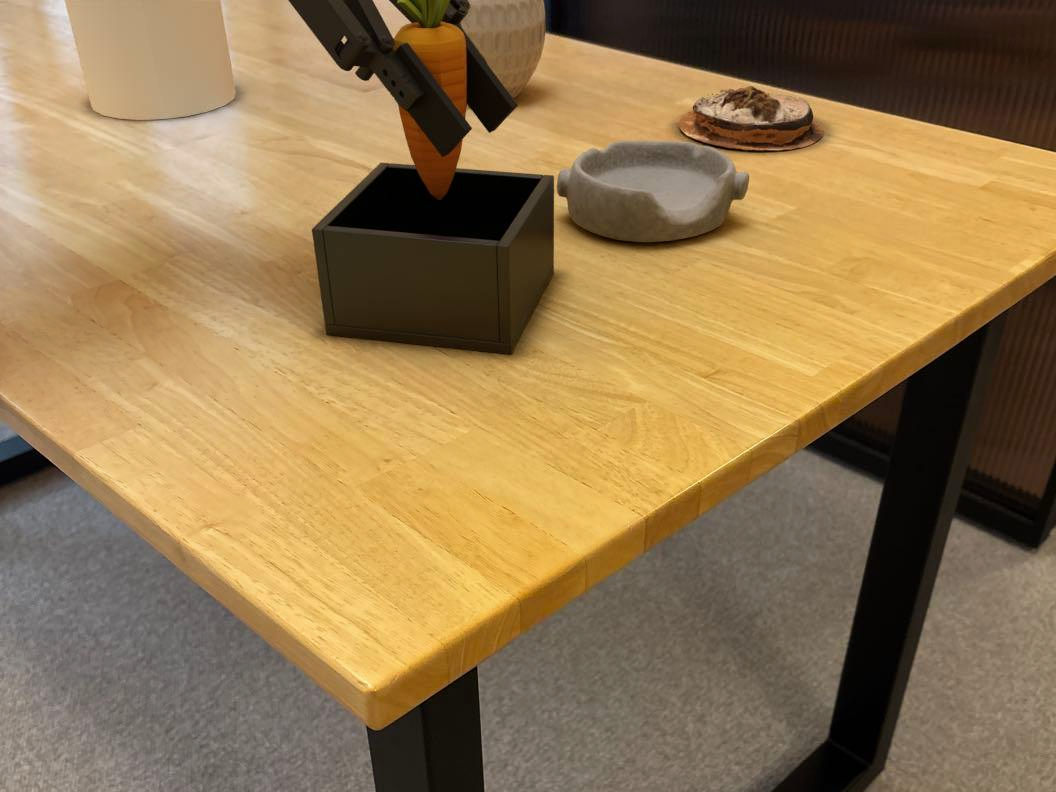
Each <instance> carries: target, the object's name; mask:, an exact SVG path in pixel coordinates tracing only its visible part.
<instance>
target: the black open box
mask: <svg viewBox="0 0 1056 792" xmlns="http://www.w3.org/2000/svg"><path fill="white" fill-rule="evenodd" d="M311 233H312V242H313V249H314V256H315V262H316V271H317V277H318V285H319V291H320V292H319V293H320V299H321V300H320V301H321V306H322V314H323V319H324V320H323V321H324V328H325V330H324V331H325V335H326V336H327V335H328V336H334V337H335V336H336V337H344V338H345V337H346V338H355V339H356V338H357V339H364V340H365V339H366V340H375V341H384V342H392V343H393V342H394V343H401V344H402V343H403V344H410V345H420V346H431V347H441V348H447V349H448V348H449V349H457V350H468V351H477V352H487V353H495V354H504V355H505V354H506V355H512V353H513V351H514V349H515V347H516V346H517V344H518V341H520V338H521V337H522V334H523V332H524V331H525V329H526V327H527V325H528V323H529V322H530V320H531V317H532V316H533V314H534V312H535V311H536V308H537V306H538V304H539V303H540V301H541V298H542V297H543V295H544V293H545V292H546V289H547V287H548V286H549V284H550V282H551V280H552V279H553V277H554V275H555V175H552V174H541V173H540V174H539V173H527V172H514V171H513V172H512V171H498V170H486V169H471V168H460V167H456V171H455V174H454V177H453V179H452V182H451V184H450V186H449V189H448V191H447V194H446V195H445V196H444V197H443V198H442V199H441V200H437V199H436V198H435V197H434V196H433V195H431V194H430V192H429V190H428V189H427V187H426V185H425V184H424V182H423V180H422V179H421V177H420V175H419V173H418V171H417V169H416V167H415V164H408V163H407V164H406V163H390V162H380V163H378V164H377V166H376V167H374V168H373V170H371V171H370V172H369V173H368V174H367V175H366V176H365V177H364V178H363V179H362V180H361V181H360V182H359V183H358V184H356V186H354V188H353V189H352V190H350V191H349V192H348V193H347V194H346V195H345V196H344V197H343V198H342V199H341V200H339V202H338V203H337V204H336V205H335V206H334V207H333V208H332V209H331V210H330V211H329V212H328V213H326V215H324V217H323V218H322V219H320V220H319V221H318V222H317V223H316V224H315V225H314V226H313V227H312V228H311Z"/></svg>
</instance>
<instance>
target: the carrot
mask: <svg viewBox="0 0 1056 792" xmlns="http://www.w3.org/2000/svg"><path fill="white" fill-rule="evenodd" d="M410 1H411V2H410ZM410 1H409V0H398V2H397V3H398V4H399V5H400V6H401V7H402V8H403V9H404V10H405V11H406V12H407V13H408V14H409V15H410V16H412V17H413V18H414V19H415V20H416V21H417V22H415V23H411V22H410V23H406V24H404V25H403V26H401V27H400V28H399V30H398V31H397V32H396V34H395V36H394V37H393V39H394V41H395V46H394V48H393V49H394V50H395V51H396V50H397V49H398V47H399V46H400V45H402V44H404V43H408V44H409V45H410V47H411V48H412V49H413V51H414V52H415V53H416V55H417V56H418V57H419V59H420V60H421V61H422V63H423V64H424V65H425V67H426V68H427V69H428V71H429V72H430V73H431V74H432V76H433V77H434V78H435V80H436V81H437V82H438V84H439V85H440V86H441V88H442V89H443V90H444V92H445V93H446V94H447V96H448V97H449V98H450V100H451V101H452V102H453V104H454V105H455V106H456V108H457V109H458V110H459V112H460V113H461V114H462V116H463V117H464V118H465V119H466V116H467V107H468V104H467V59H466V40H465V36H464V33H463V32H462V31H461V30H460V29H459V28H458V27H456V26H454V25H452V24H449V23H445V22H441V21H442V19H443V16H444V14H445V12H446V9H447V7H448V5H449V2H450V0H438V2H437V0H410ZM397 106H398V112H399V117H400V120H401V125H402V129H403V132H404V138H405V140H406V144H407V147H408V151H409V154H410V158H411V160H412V162H413V165H415V167H416V169H417V171H418V173H419V175H420V177H421V179H422V180H423V182H424V184H425V185H426V187H427V189H428V190H429V192H430V194H431V195H433V196H434V197H435V198H436V199H437V200H441V199H442V198H443V197H444V196H445V195H446V194H447V191H448V189H449V186H450V184H451V182H452V179H453V177H454V174H455V171H456V168H458V163H459V160H460V156H461V153H462V147H463V140H464V138H463V139H462V140H461V141H460V143H459V144H458V145H457V146H456V147H455V148H454V149H453V150H452V151H451V152H450V154H448V155H446V156H444V157H442V156H441V155H440V153H439V152H438V151H437V149H436V148H435V147H434V145H433V144H432V143H431V141H430V140H429V139H428V138H427V136H426V135H425V134H424V132H423V131H422V130H421V128H420V127H419V126H418V124H417V123H416V122H415V121H414V119H413V118H412V117H411V115H410V114H409V113H408V111H405V110H404V109H403V108H402V107H400V106H399V105H397Z"/></svg>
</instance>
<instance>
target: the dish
mask: <svg viewBox="0 0 1056 792" xmlns="http://www.w3.org/2000/svg"><path fill="white" fill-rule="evenodd" d="M557 175H558V176H557V180H556V192H557V195H558V196H559V197H562V198H565V199H566V203H567V211H568V215H569V217H570V219H571V220H572V221H573V222H574V223H575V224H576V225H577V226H579V227H581V228H582V229H584V230H586V231H587V232H590V233H593V234H595V235H598V236H601V237H605V238H608V239H613V240H618V241H625V242H633V243H634V242H635V243H656V242H657V243H658V242H671V241H678V240H682V239H688V238H693V237H698V236H700V235H703V234H706V233H709V232H711V231H714V230H715V229H717V228H718V227H720V226H721V225H722V224H723V223H725V221H726V219H727V217H728V214H729V212H730V209H731V205H732V203H733V201H742V200H744V198H745V196H746V194H747V191H748V189H749V183H750V174H749V173H748V171H737V169H736V167H735V164H734V162H733V160H732V159H731V158H730V156H729V155H727V154H726V153H724V152H722V151H721V150H718V149H717V148H715V147H711V146H708V145H699V144H696V143H695V142H690V141H683V140H682V141H681V140H616V141H612V142H611V143H610V144H608V145H607V146H606V147H605V148H603V149H598V148H595V147H593V148H589V149H587V150H586V151H583V152H582V153H580V154H579V155H578V156H577V157H576V158H575V160H574V161H573V163H572V165H571V167H570V168H569V169H567V168H564V167H563V168H561V170H560V171H559V173H558V174H557Z"/></svg>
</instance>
